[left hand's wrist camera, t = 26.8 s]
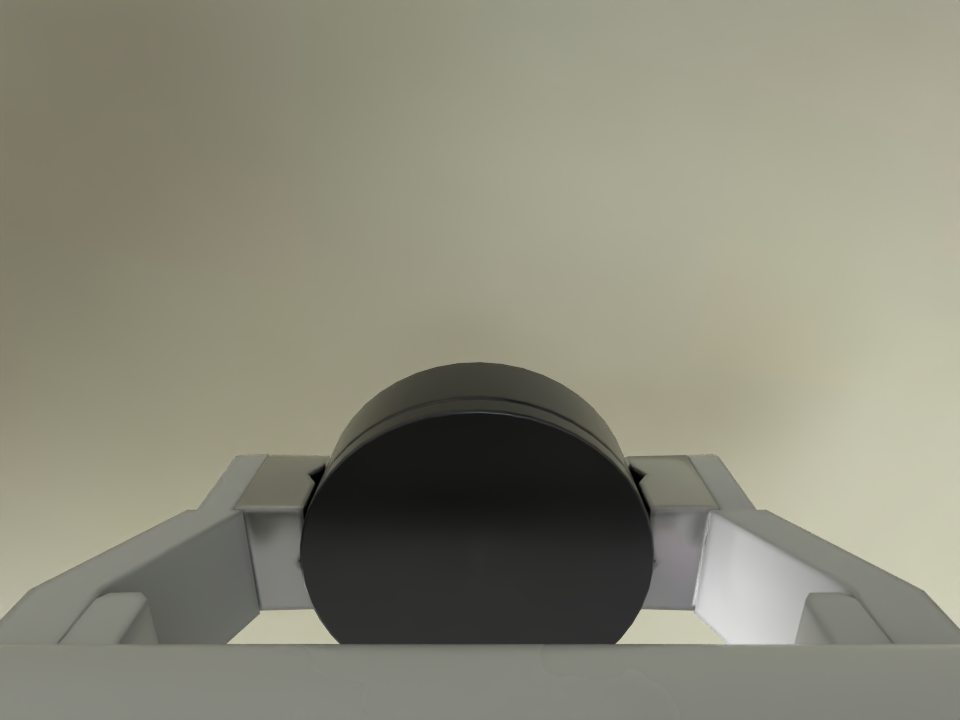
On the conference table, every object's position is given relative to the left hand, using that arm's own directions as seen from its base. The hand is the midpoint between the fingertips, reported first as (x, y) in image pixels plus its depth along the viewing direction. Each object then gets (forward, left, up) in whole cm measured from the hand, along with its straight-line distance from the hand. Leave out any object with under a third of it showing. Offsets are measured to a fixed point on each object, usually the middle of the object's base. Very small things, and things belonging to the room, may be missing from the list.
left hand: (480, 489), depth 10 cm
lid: (0, 0, +2) cm, 2 cm away
